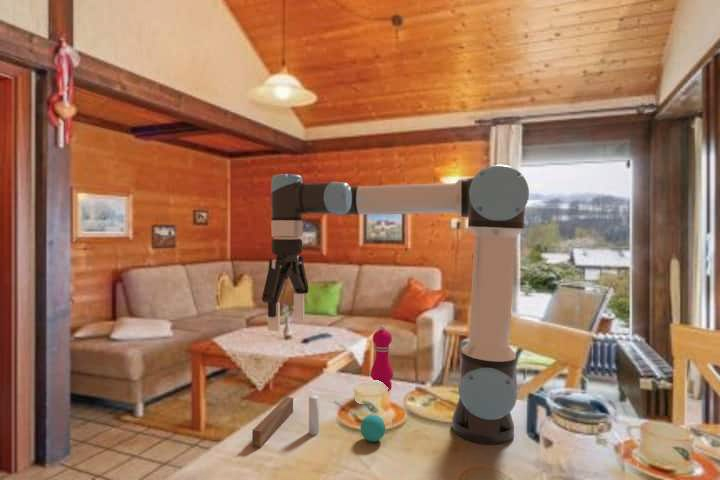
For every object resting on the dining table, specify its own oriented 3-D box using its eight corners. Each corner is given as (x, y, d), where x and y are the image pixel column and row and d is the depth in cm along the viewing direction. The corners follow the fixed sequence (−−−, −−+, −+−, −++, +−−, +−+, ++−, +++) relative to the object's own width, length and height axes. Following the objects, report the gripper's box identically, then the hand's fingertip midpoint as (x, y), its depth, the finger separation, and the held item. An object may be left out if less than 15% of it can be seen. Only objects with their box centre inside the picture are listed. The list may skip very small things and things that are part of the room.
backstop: (293, 412, 120) (293, 397, 120) (260, 448, 101) (260, 431, 101) (286, 411, 121) (286, 397, 121) (252, 447, 101) (252, 430, 101)
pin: (319, 431, 109) (319, 395, 109) (316, 435, 107) (316, 399, 107) (310, 430, 110) (310, 394, 110) (307, 434, 108) (307, 398, 107)
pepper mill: (391, 392, 135) (392, 328, 134) (368, 390, 136) (369, 327, 135) (394, 384, 142) (395, 323, 141) (372, 382, 143) (373, 322, 143)
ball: (387, 435, 107) (387, 411, 107) (382, 447, 101) (383, 422, 101) (363, 432, 109) (363, 409, 108) (357, 444, 103) (357, 419, 103)
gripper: (295, 236, 120) (295, 313, 121) (245, 239, 96) (246, 335, 97) (320, 237, 118) (320, 315, 118) (276, 240, 94) (276, 337, 95)
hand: (287, 324), depth 108 cm, fingers open, 13 cm apart
